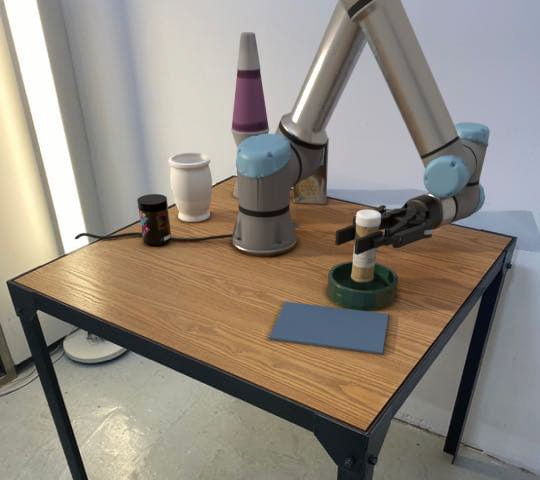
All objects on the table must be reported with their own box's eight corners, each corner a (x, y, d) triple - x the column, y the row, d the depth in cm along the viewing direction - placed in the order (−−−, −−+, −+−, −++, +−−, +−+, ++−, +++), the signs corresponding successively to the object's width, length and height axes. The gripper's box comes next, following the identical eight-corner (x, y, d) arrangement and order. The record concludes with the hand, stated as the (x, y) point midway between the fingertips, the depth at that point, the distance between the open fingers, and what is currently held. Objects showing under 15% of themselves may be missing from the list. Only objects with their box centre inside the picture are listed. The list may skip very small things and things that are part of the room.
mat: (268, 339, 101) (268, 337, 100) (285, 303, 111) (285, 301, 111) (382, 354, 97) (382, 352, 96) (388, 316, 107) (388, 313, 107)
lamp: (275, 198, 159) (275, 34, 135) (237, 202, 156) (231, 36, 133) (264, 186, 167) (263, 29, 144) (229, 189, 165) (221, 31, 141)
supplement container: (153, 234, 139) (147, 192, 133) (177, 238, 137) (172, 196, 130) (137, 245, 134) (131, 202, 127) (162, 249, 131) (157, 206, 125)
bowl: (322, 306, 110) (323, 288, 108) (332, 274, 121) (334, 257, 118) (392, 314, 107) (395, 296, 105) (397, 281, 118) (400, 264, 116)
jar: (211, 224, 143) (207, 164, 135) (171, 224, 144) (164, 164, 135) (216, 209, 152) (212, 151, 143) (177, 209, 152) (171, 151, 143)
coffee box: (327, 196, 159) (330, 137, 150) (325, 205, 154) (328, 144, 145) (294, 195, 161) (296, 136, 151) (291, 203, 155) (292, 142, 146)
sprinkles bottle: (366, 271, 114) (374, 207, 107) (377, 281, 111) (386, 215, 103) (346, 275, 113) (352, 210, 105) (356, 285, 110) (363, 219, 102)
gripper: (459, 243, 113) (379, 278, 101) (392, 217, 124) (313, 246, 112) (467, 207, 108) (384, 238, 96) (397, 183, 119) (315, 209, 107)
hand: (346, 242), depth 104 cm, fingers closed on sprinkles bottle, 4 cm apart
